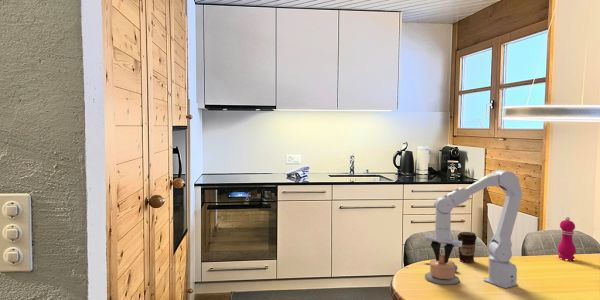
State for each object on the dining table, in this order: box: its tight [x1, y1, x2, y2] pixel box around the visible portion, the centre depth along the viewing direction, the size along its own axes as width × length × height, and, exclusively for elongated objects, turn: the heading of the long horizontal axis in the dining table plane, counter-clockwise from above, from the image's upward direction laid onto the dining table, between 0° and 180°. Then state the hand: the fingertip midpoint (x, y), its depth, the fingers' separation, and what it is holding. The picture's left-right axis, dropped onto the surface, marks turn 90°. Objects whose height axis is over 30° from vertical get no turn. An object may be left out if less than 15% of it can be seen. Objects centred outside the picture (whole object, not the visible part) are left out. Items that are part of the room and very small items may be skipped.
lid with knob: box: [429, 253, 456, 279], centre depth 159 cm, size 10×10×8 cm
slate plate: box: [424, 271, 460, 286], centre depth 159 cm, size 13×13×1 cm
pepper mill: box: [557, 216, 577, 260], centre depth 187 cm, size 7×7×20 cm
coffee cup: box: [457, 231, 478, 263], centre depth 183 cm, size 9×8×13 cm
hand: (442, 261), depth 159 cm, fingers closed on lid with knob, 3 cm apart
